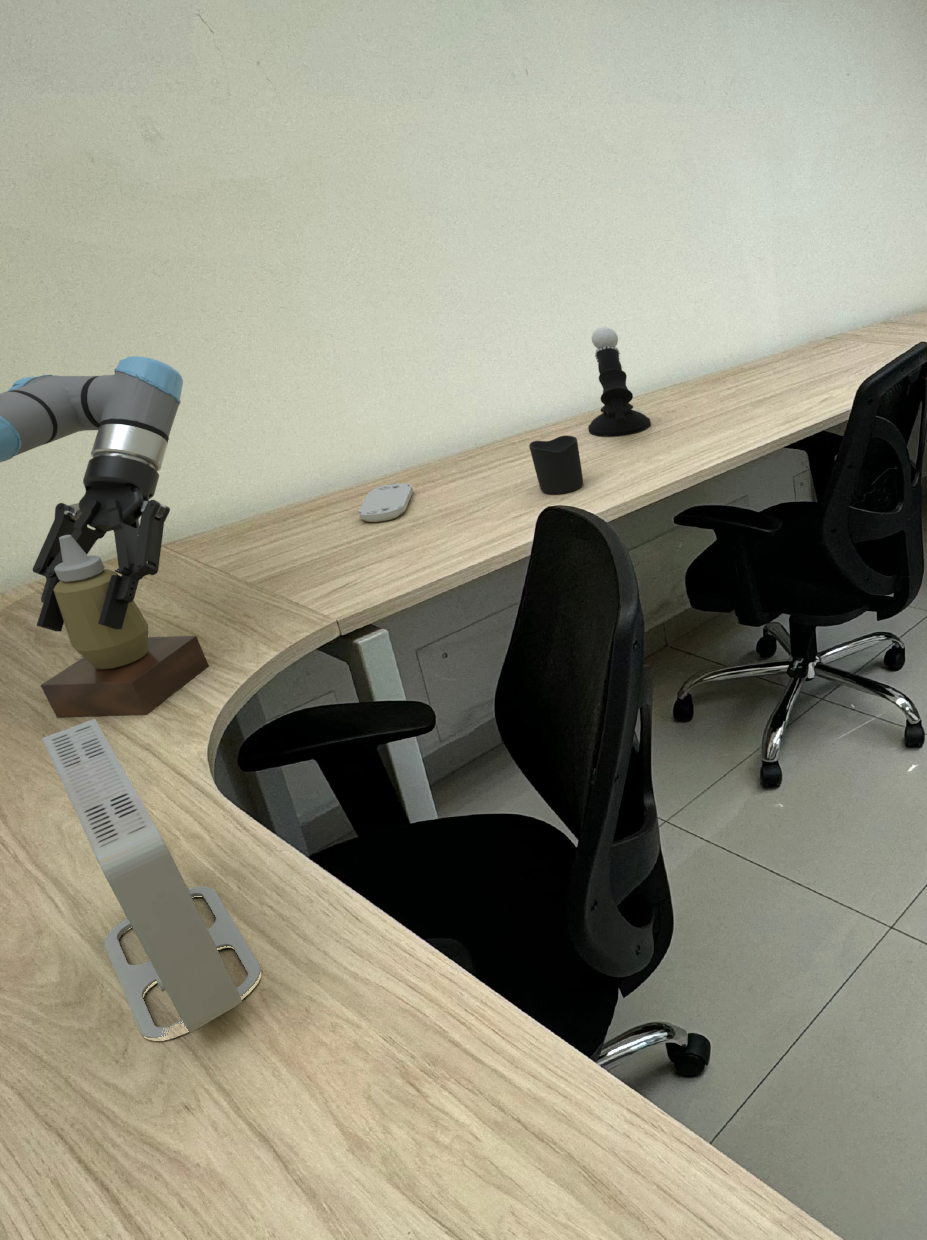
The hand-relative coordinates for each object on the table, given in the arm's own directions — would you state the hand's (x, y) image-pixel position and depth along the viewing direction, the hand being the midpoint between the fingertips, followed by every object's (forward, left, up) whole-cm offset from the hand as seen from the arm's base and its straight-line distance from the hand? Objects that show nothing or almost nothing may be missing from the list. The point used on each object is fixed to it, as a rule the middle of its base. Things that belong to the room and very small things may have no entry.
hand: (79, 627), depth 116 cm
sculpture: (+36, +117, -12) cm, 123 cm away
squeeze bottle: (0, +3, -7) cm, 8 cm away
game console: (+1, +70, -12) cm, 71 cm away
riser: (0, +3, -12) cm, 12 cm away
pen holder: (+34, +78, -12) cm, 86 cm away
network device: (+39, -43, -12) cm, 59 cm away
